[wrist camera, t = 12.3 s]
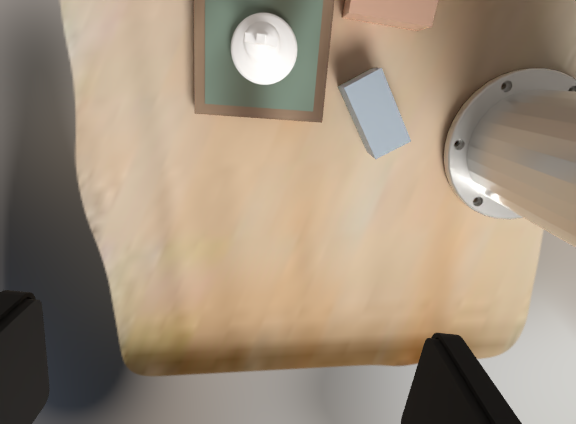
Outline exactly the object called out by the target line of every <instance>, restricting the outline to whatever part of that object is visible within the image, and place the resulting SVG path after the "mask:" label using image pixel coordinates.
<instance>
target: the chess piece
mask: <svg viewBox="0 0 576 424" xmlns="http://www.w3.org/2000/svg"><path fill="white" fill-rule="evenodd" d="M231 56H232V60H233V62H234V65H235V67H236V68H237V70H238V71H239V73H240V74H241V75H242V76H243V77H245V78H246V79H247V80H249V81H251V82H253V83H256V84H261V85H269V84H274V83H276V82H279V81H281V80H282V79H284V78H285V77H286V76H287V75H288V74H289V73H290V71H291V70H292V68H293V66H294V64H295V62H296V58H297V41H296V37H295V35H294V32H293V31H292V29H291V27H290V26H289V25H288V24H287V23H286V22H285V21H284V20H283V19H282V18H280V17H278V16H276V15H274V14H271V13H256V14H253V15H250V16H248V17H247V18H245V19H244V20H243V21H242V22H241V23H240V24H239V25H238V26H237V28H236V29H235V31H234V33H233V36H232V40H231Z"/></svg>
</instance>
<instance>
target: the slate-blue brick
mask: <svg viewBox="0 0 576 424" xmlns="http://www.w3.org/2000/svg"><path fill="white" fill-rule="evenodd" d="M338 88H339V90H340V92H341V95H342V97H343V99H344V101H345V104H346V106H347V108H348V110H349V113H350V115H351V117H352V119H353V121H354V124H355V126H356V128H357V130H358V133H359V135H360V137H361V139H362V142H363V144H364V146H365V148H366V150H367V152H368V153H369V154H370V155H371V156H373V157H374V158H375V159H377V158H379V157H381V156H383V155H385V154H387V153H389V152H391V151H393V150H395V149H397V148H399V147H401V146H403V145H405V144H407V143H409V142H411V140H410V137H409V135H408V132H407V130H406V127H405V125H404V122H403V120H402V117H401V115H400V112H399V110H398V107H397V105H396V102H395V100H394V98H393V95H392V93H391V90H390V88H389V85H388V83H387V80H386V78H385V75H384V73H383V70H382V68H371V69H370V70H368V71H366V72H364V73H362V74H360V75H358V76H357V77H355V78H353V79H351V80H349V81H347V82H345V83H343V84H342V85H340V86H338Z"/></svg>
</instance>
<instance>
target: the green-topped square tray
mask: <svg viewBox="0 0 576 424" xmlns="http://www.w3.org/2000/svg"><path fill="white" fill-rule="evenodd" d="M333 8H334V0H194V94H195V114H209V115H223V116H237V117H251V118H265V119H280V120H294V121H308V122H322V117H323V107H324V97H325V88H326V78H327V68H328V58H329V48H330V38H331V28H332V18H333ZM256 13H271V14H274V15H276V16H278V17H280V18H282V19H283V20H284V21H285V22H286V23H287V24H288V25H289V26H290V27H291V29H292V31H293V32H294V35H295V37H296V41H297V58H296V62H295V64H294V66H293V68H292V70H291V71H290V73H289V74H288V75H287V76H286V77H285V78H284V79H282V80H281V81H279V82H276V83H274V84H269V85H261V84H256V83H253V82H251V81H249V80H247V79H246V78H245V77H243V76H242V75H241V74H240V73H239V71H238V70H237V68H236V67H235V65H234V62H233V60H232V56H231V40H232V36H233V33H234V31H235V29H236V28H237V26H238V25H239V24H240V23H241V22H242V21H243V20H244V19H245V18H247V17H248V16H250V15H253V14H256Z"/></svg>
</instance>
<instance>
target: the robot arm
mask: <svg viewBox="0 0 576 424" xmlns="http://www.w3.org/2000/svg"><path fill="white" fill-rule="evenodd" d="M502 84H503V87H502V88H501V86H502ZM456 141H457V144H456V145H455V146H454V143H455V142H456ZM444 166H445V173H446V176H447V179H448V182H449V185H450V186H451V188H452V189H453V191H454V193H455V194H456V196H457V197H458V198H459V199H460V200H461V201H462V202H463V203H464V204H466V205H467V206H468V207H470V208H471V209H473V210H474V211H476V212H478V213H480V214H482V215H484V216H488V217H492V218H496V219H517V218H525V219H527V220H528V221H530V222H532V223H534V224H535V225H537V226H539V227H541V228H542V229H544V230H546V231H548V232H549V233H551V234H553V235H555V236H556V237H558V238H560V239H562V240H563V241H565V242H567V243H568V244H570V245H572V246H574V247H575V248H576V80H575V79H574V78H573V77H571V76H569V75H567V74H565V73H562V72H560V71H556V70H551V69H546V68H529V69H521V70H515V71H512V72H509V73H506V74H503V75H500V76H499V77H497V78H495V79H493V80H491V81H489V82H487V83H486V84H485V85H483V86H482V87H481V88H480V89H478V90H477V91H476V92H474V93H473V95H472V96H471V97H470V98H469V99H468V100H467V101H466V102H465V103H464V104H463V106H462V107H461V109H460V110H459V112H458V113H457V115H456V116H455V118H454V120H453V122H452V124H451V127H450V129H449V131H448V135H447V139H446V142H445V148H444ZM474 199H475V200H474ZM48 396H49V377H48V366H47V356H46V345H45V333H44V322H43V312H42V304H41V302H40V300H36V299H35V296H34V295H33V294H32V293H30V292H19V291H9V290H5V291H2V292H0V424H32V423H33V421H34V420H35V419H36V417H37V415H38V414H39V413H40V411H41V410H42V408H43V407H44V405H45V404H46V401H47V399H48ZM401 424H522V423H521V422H520V421H519V419H518V418H517V416H516V415H515V414H514V412H513V410H512V409H511V408H510V406H509V405H508V403H507V402H506V401H505V399H504V398H503V396H502V395H501V393H500V392H499V390H498V389H497V387H496V386H495V385H494V383H493V382H492V380H491V379H490V377H489V376H488V375H487V373H486V372H485V370H484V369H483V367H482V366H481V364H480V363H479V362H478V360H477V359H476V357H475V356H474V354H473V353H472V351H471V350H470V349H469V347H468V346H467V344H466V343H465V341H464V340H463V339H462V338H461V336H459V335H453V334H443V333H435V334H434V335H433V336H432V338H427V339H426V341H425V343H424V346H423V350H422V353H421V356H420V359H419V363H418V366H417V369H416V372H415V376H414V380H413V382H412V386H411V389H410V392H409V395H408V399H407V402H406V406H405V409H404V412H403V415H402V419H401Z"/></svg>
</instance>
